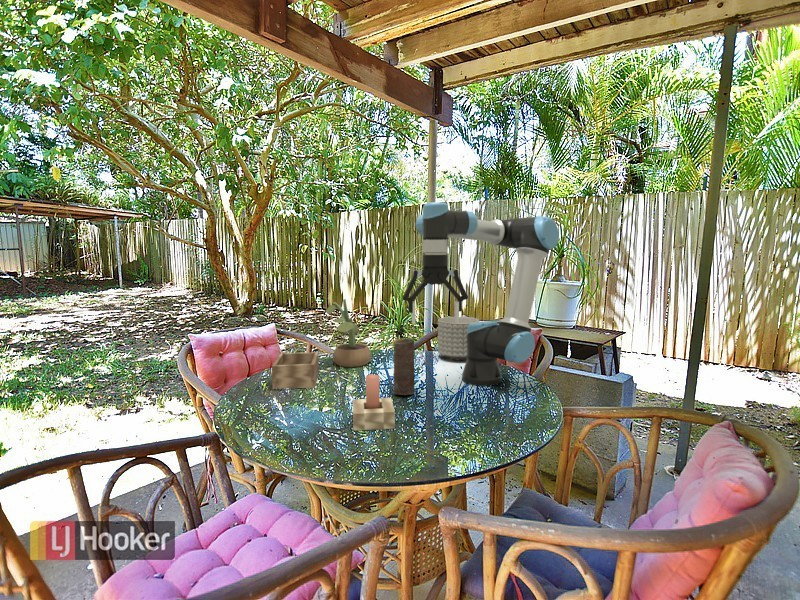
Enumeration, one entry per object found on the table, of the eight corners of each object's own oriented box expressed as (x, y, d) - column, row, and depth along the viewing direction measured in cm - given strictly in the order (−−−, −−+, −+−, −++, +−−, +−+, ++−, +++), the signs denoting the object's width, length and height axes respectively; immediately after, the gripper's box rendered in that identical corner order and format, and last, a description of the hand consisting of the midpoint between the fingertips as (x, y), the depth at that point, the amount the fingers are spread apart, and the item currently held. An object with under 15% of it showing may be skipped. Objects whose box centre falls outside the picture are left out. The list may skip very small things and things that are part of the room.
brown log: (412, 398, 154) (412, 342, 152) (391, 397, 156) (391, 341, 153) (416, 391, 162) (415, 337, 159) (396, 390, 163) (395, 336, 161)
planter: (436, 362, 201) (436, 322, 199) (439, 352, 220) (439, 316, 218) (479, 364, 198) (479, 323, 196) (478, 353, 217) (479, 316, 215)
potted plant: (340, 357, 212) (338, 294, 208) (376, 359, 207) (375, 295, 204) (319, 370, 191) (317, 300, 187) (358, 373, 186) (357, 301, 182)
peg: (379, 418, 137) (378, 374, 135) (380, 423, 133) (379, 378, 131) (366, 419, 136) (365, 374, 135) (366, 424, 132) (366, 378, 131)
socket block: (391, 413, 141) (391, 397, 141) (394, 428, 129) (394, 411, 129) (353, 414, 140) (353, 399, 139) (353, 430, 128) (352, 413, 127)
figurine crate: (318, 373, 186) (318, 352, 184) (314, 388, 166) (314, 364, 165) (281, 374, 184) (280, 353, 183) (272, 389, 165) (271, 366, 164)
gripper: (471, 253, 141) (471, 319, 144) (393, 254, 139) (394, 321, 141) (478, 253, 134) (477, 323, 137) (395, 254, 131) (396, 325, 134)
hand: (435, 322), depth 139 cm, fingers open, 13 cm apart
